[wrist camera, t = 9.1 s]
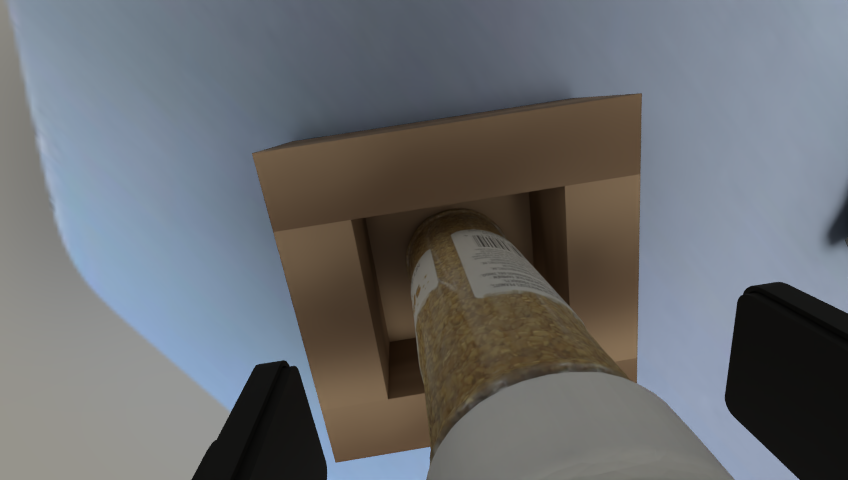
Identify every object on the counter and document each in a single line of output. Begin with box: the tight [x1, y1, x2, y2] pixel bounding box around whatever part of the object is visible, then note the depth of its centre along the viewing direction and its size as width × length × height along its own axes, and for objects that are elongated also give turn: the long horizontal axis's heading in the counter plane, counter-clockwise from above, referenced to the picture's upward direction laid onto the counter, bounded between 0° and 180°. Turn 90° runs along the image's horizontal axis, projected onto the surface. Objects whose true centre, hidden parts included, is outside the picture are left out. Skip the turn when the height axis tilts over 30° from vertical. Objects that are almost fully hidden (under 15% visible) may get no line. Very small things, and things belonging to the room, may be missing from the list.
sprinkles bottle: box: [406, 209, 734, 480], centre depth 12 cm, size 5×5×14 cm
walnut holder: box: [252, 93, 642, 462], centre depth 17 cm, size 12×12×5 cm
